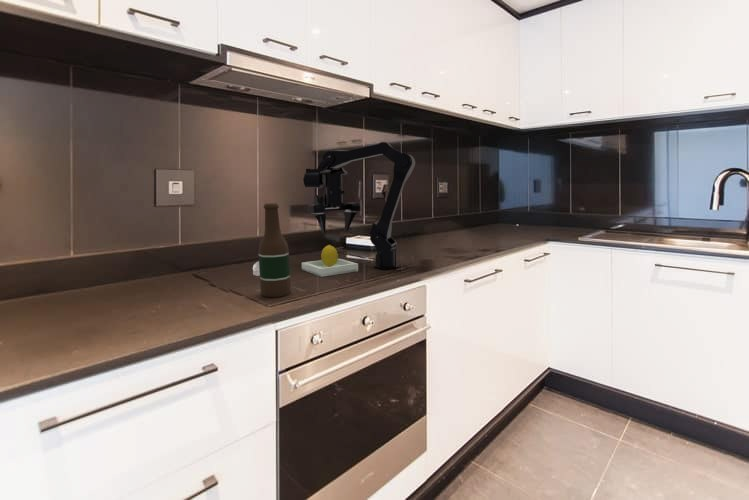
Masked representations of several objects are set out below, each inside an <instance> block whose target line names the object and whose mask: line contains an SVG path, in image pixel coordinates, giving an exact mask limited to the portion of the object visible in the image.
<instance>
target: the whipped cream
mask: <svg viewBox="0 0 749 500" xmlns="http://www.w3.org/2000/svg"><path fill="white" fill-rule="evenodd" d="M252 275H253V276H255V277H256V276H257V277H260V271H259V260H258V261H256V262H255V263H254V264H253V266H252Z"/></svg>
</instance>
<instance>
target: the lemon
mask: <svg viewBox="0 0 749 500" xmlns="http://www.w3.org/2000/svg"><path fill="white" fill-rule="evenodd" d="M320 258H321V259H320V260H322V262H323V264H324V265H326V266H328V267H332V266H333V265H335V264H336V262H337V260H338V258H339V253H338V251H337V249H336V248H335V247H334V246H333V245H331V244H327V245H326V246H324V248H323V249H322V250H321V255H320Z"/></svg>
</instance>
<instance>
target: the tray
mask: <svg viewBox="0 0 749 500" xmlns="http://www.w3.org/2000/svg"><path fill="white" fill-rule="evenodd" d="M301 270H302V271H303V272H307V273H309V274H311V275H315V276H317V277H321V278H322V277H328V276H336V275H341V274H348V273H355V272H358V271H359V263H356V262H353V261H349V260H347V259H342V258H339V257H338V260H337V262H336V264H335V265H333V266H332V267H328V266H326V265H324V264H323V262H322V259H319V260H313V261H305V262H301Z"/></svg>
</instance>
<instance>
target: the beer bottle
mask: <svg viewBox="0 0 749 500" xmlns="http://www.w3.org/2000/svg"><path fill="white" fill-rule="evenodd" d="M279 208H280V206H279V204H278V203H277V202H276V203H275V202H271V203H270V202H269V203H265V204H264V205H263V209H264V232H263V233H264V234H263V236H262V237H261V239H260V242H259V245H258V261H259V271H260V276H259V284H260V285H259V286H260V293H261V296H263V297H264V298H265V297H266V298H280V296H281V297H286V296H287V295H289V294H291V285H292V284H291V267H290V249H289V245H288V242H287V240H286V238H285V237H284V235H282V231H281V226H280V225H281V224H280V218H279Z"/></svg>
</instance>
